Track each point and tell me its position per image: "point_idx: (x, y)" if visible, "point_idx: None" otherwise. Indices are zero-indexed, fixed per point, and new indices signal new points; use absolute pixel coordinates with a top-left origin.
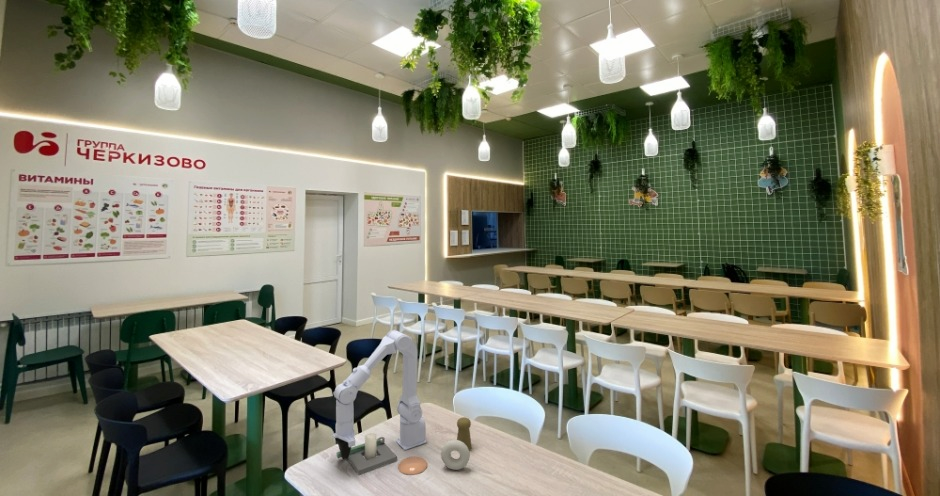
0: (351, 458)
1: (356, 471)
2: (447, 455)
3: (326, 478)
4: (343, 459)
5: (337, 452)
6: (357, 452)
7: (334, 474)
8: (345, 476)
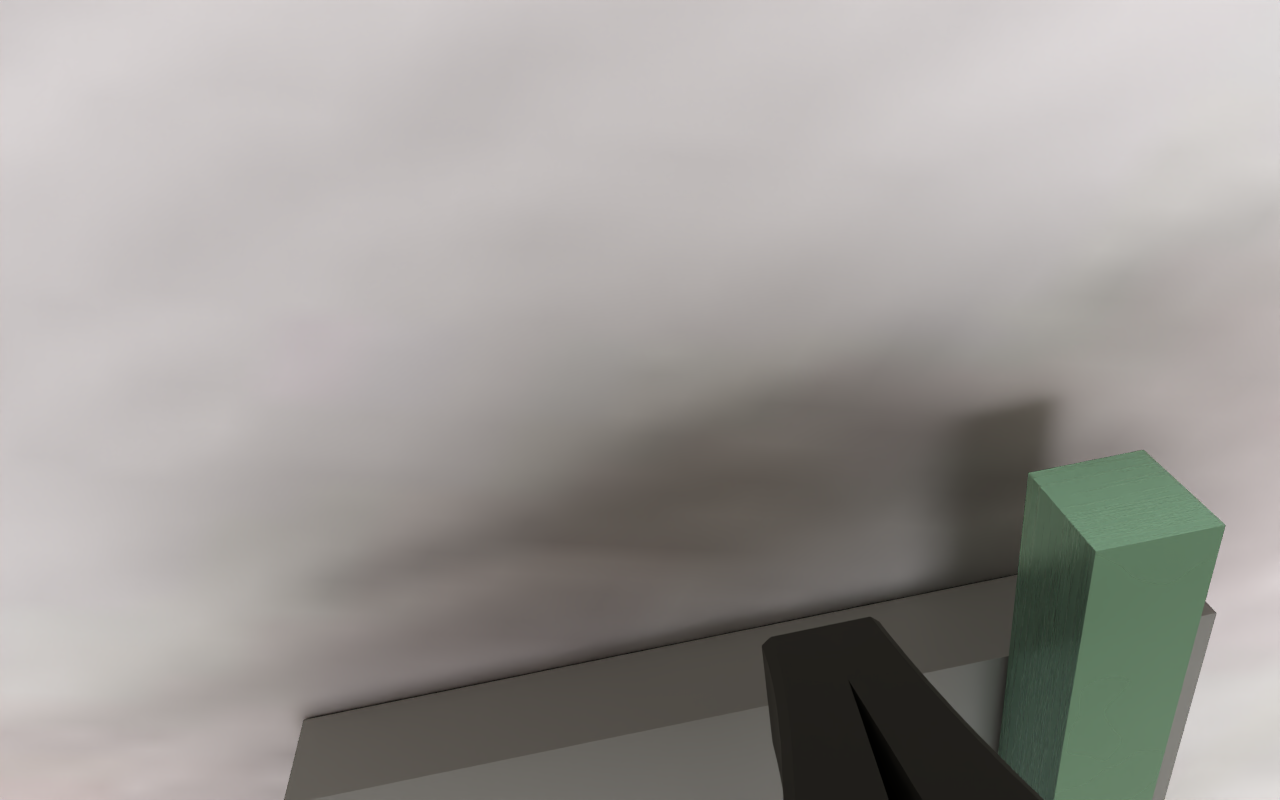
0: None
1: (436, 699)
2: None
3: (424, 67)
4: (762, 650)
5: (1207, 544)
6: None
7: (535, 293)
8: (346, 509)
